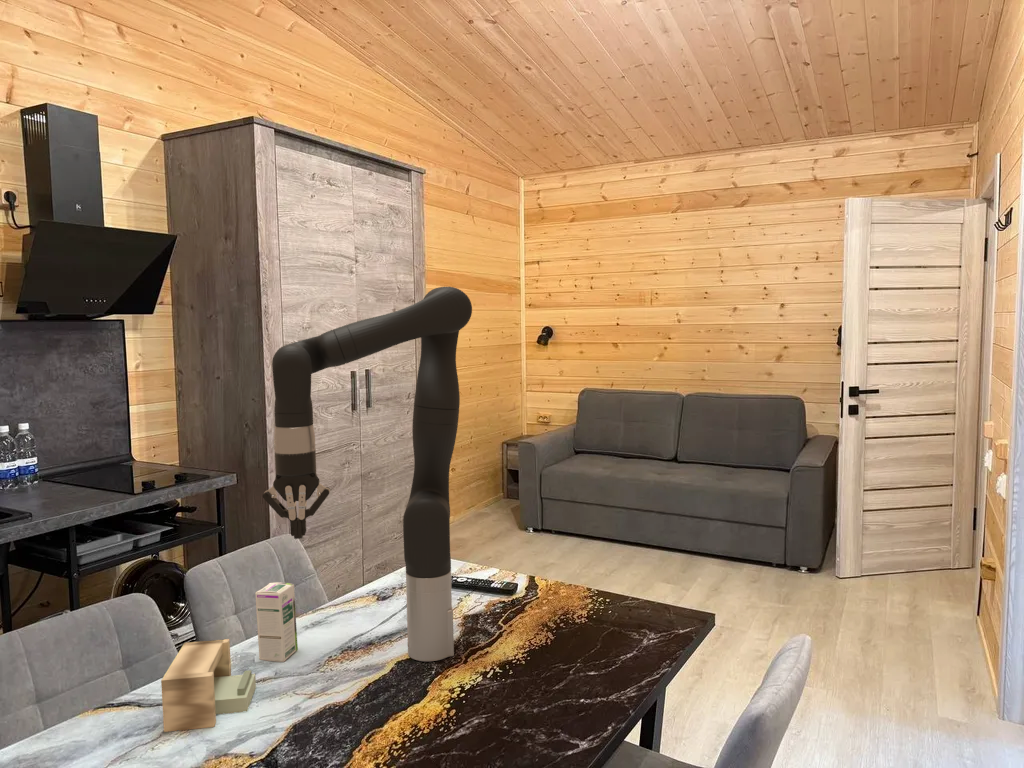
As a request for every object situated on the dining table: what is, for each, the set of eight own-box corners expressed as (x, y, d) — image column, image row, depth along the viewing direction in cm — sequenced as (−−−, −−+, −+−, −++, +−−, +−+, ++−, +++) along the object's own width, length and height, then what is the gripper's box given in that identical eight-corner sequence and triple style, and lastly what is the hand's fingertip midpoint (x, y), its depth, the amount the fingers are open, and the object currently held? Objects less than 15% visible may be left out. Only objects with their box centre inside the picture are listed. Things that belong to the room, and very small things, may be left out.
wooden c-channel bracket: (231, 684, 141) (229, 639, 140) (214, 726, 126) (211, 675, 126) (187, 689, 140) (184, 642, 139) (164, 731, 125) (161, 680, 124)
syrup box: (284, 662, 150) (281, 592, 149) (257, 660, 151) (254, 590, 150) (298, 650, 156) (295, 582, 155) (272, 648, 157) (269, 581, 156)
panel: (256, 688, 140) (255, 667, 140) (247, 713, 132) (246, 690, 131) (194, 694, 139) (193, 672, 138) (181, 720, 130) (180, 697, 129)
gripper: (332, 444, 147) (334, 530, 148) (262, 447, 145) (265, 534, 146) (329, 450, 140) (332, 541, 141) (255, 453, 137) (259, 545, 139)
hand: (298, 537), depth 144 cm, fingers closed
